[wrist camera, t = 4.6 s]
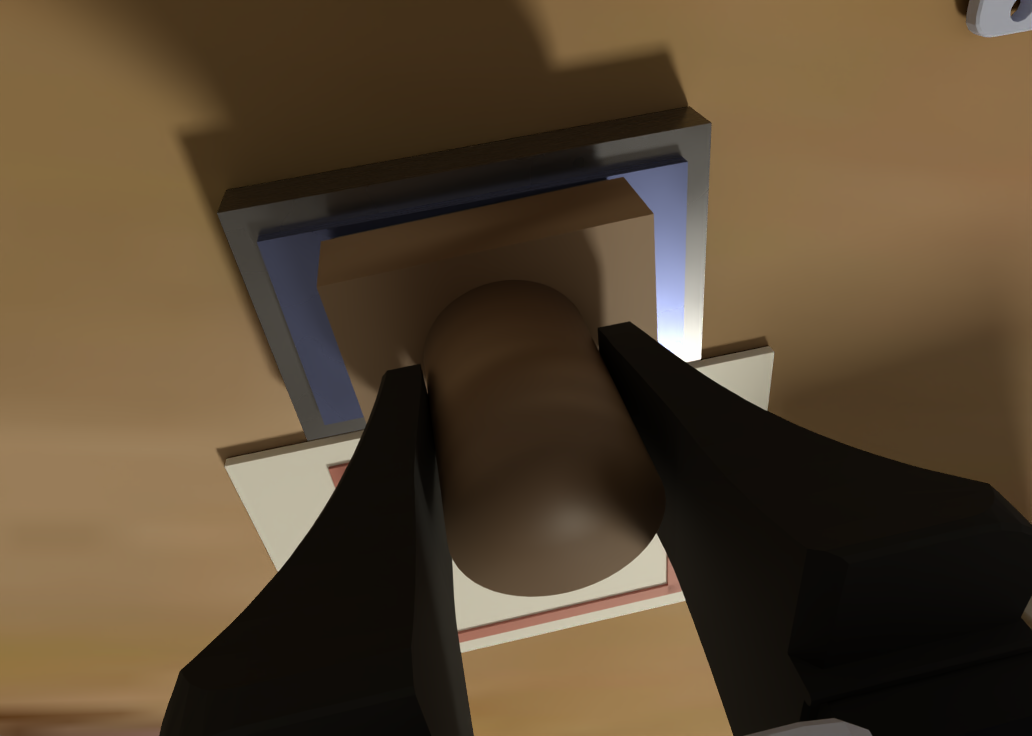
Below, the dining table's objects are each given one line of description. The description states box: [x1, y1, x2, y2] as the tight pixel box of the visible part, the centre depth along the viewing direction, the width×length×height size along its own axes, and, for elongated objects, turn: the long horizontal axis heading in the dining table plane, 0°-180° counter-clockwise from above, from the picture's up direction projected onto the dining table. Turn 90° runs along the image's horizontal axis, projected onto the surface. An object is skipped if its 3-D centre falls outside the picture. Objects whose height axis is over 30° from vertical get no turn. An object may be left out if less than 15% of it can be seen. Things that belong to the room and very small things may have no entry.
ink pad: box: [217, 107, 711, 441], centre depth 16 cm, size 10×6×2 cm, turn 97°
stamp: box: [317, 177, 666, 597], centre depth 13 cm, size 6×4×7 cm
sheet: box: [225, 346, 774, 653], centre depth 22 cm, size 15×10×1 cm
